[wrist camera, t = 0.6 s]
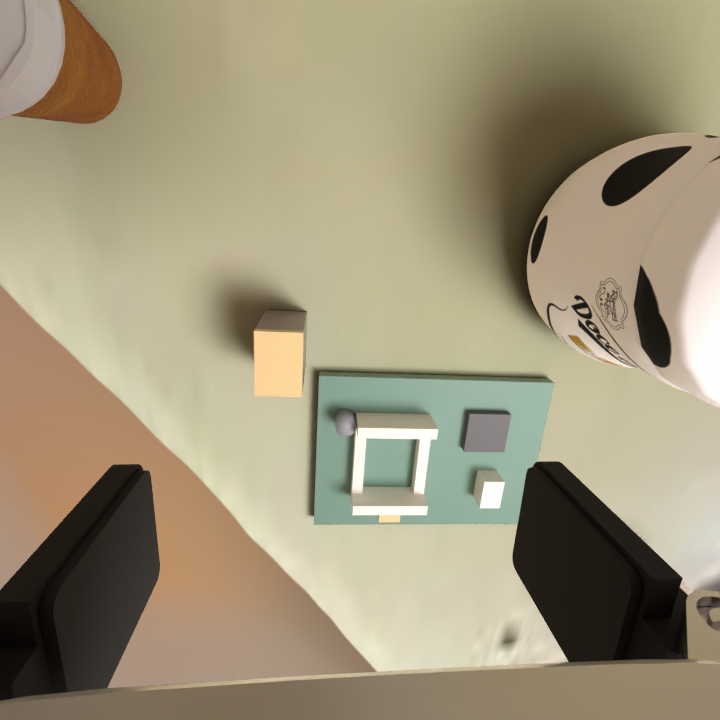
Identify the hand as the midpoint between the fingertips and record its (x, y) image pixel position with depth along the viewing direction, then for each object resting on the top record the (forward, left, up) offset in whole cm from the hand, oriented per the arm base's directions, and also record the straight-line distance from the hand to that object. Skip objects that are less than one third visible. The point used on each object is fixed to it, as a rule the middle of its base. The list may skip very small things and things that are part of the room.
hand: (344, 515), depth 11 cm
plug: (+4, -4, -29) cm, 29 cm away
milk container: (-5, +24, -29) cm, 38 cm away
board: (+15, +10, -28) cm, 34 cm away
